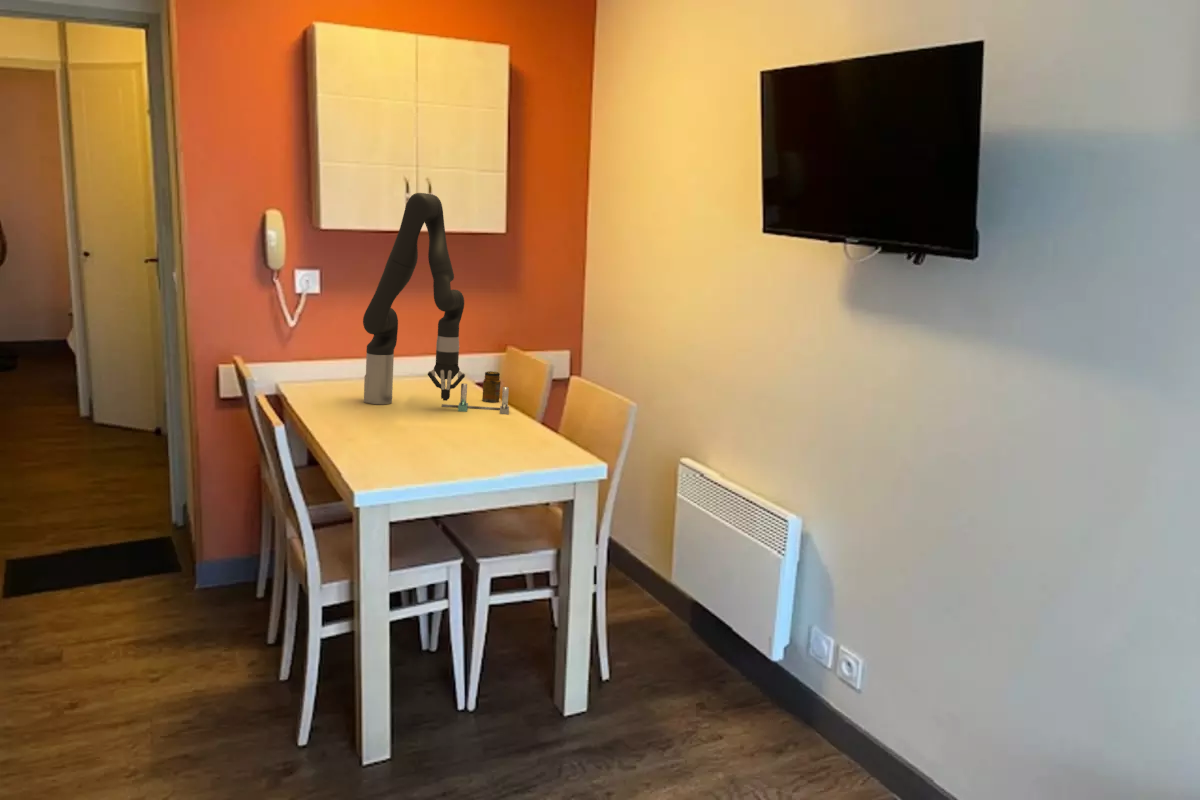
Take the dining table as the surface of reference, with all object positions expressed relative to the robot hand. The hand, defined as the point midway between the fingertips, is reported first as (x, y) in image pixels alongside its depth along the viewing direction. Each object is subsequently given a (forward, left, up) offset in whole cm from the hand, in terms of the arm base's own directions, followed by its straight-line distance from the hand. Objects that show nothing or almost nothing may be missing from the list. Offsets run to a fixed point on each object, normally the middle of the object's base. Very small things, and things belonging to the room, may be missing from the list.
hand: (445, 400), depth 317 cm
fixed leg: (+20, 0, -3) cm, 20 cm away
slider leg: (+6, 0, -3) cm, 7 cm away
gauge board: (+10, -1, -5) cm, 11 cm away
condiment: (+15, +18, -5) cm, 24 cm away
